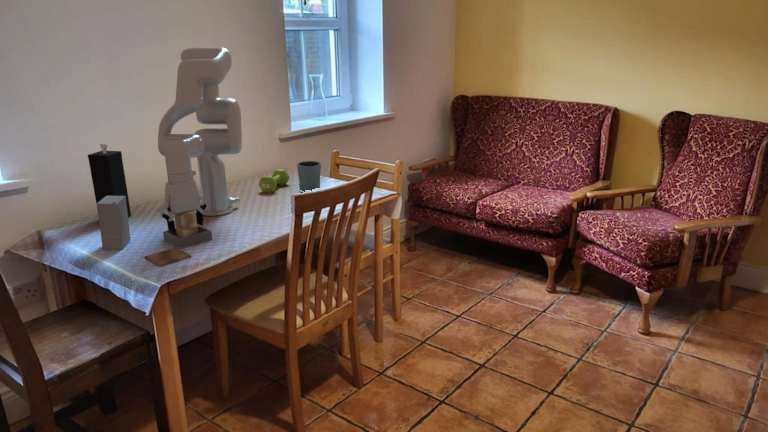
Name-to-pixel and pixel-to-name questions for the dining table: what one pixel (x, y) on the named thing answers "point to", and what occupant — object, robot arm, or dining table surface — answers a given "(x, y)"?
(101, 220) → the skincare box
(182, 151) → the robot arm
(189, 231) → the beech block
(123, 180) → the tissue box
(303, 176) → the grey cup
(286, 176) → the dumbbell
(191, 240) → the bin
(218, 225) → the dining table surface
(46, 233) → the dining table surface
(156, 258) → the walnut board
